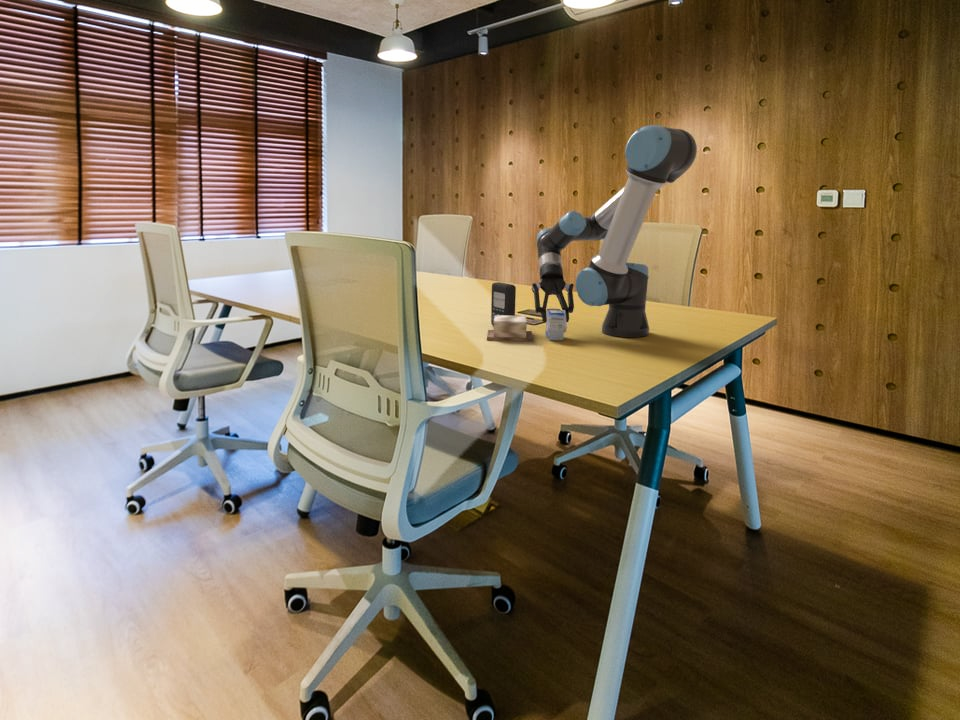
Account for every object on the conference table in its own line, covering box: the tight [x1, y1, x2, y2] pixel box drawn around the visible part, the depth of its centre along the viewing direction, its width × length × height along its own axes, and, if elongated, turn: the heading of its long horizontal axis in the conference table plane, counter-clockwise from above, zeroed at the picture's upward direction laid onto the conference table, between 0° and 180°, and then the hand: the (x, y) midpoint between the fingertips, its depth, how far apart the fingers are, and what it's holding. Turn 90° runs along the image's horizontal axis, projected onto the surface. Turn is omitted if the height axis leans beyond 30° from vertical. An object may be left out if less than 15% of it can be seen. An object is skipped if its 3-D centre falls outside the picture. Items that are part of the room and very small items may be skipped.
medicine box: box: [545, 308, 565, 341], centre depth 189 cm, size 8×4×9 cm, turn 3°
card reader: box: [490, 281, 517, 327], centre depth 203 cm, size 9×4×15 cm, turn 37°
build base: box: [486, 315, 534, 343], centre depth 190 cm, size 14×11×6 cm
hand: (556, 329), depth 186 cm, fingers closed on medicine box, 4 cm apart
